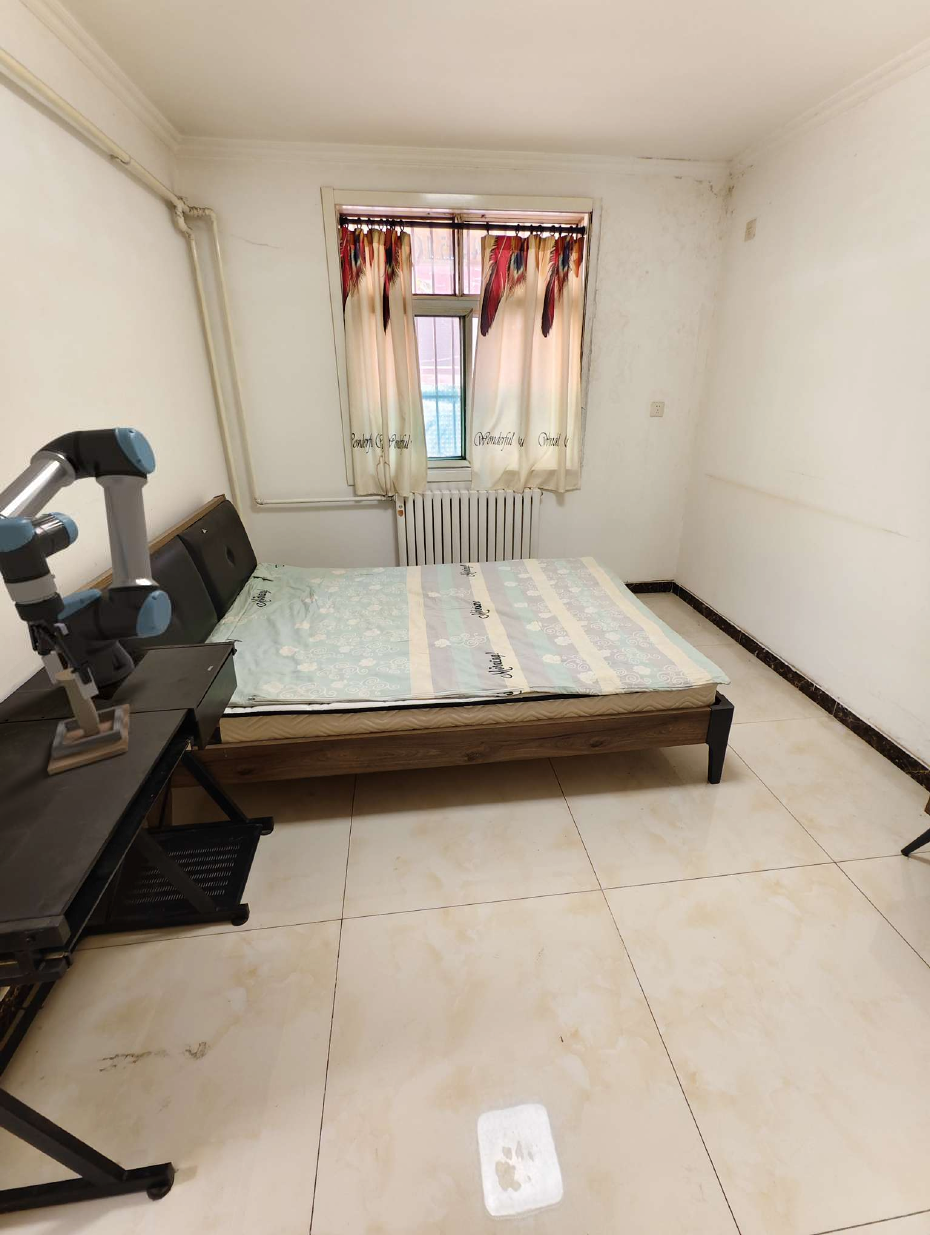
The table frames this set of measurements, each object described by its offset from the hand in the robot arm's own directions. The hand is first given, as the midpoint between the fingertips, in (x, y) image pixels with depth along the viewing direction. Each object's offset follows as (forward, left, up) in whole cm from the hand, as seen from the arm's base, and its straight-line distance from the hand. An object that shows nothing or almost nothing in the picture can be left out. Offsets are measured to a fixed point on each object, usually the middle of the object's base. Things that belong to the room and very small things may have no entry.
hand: (75, 688), depth 119 cm
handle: (0, 0, -12) cm, 12 cm away
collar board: (0, 0, -13) cm, 13 cm away
